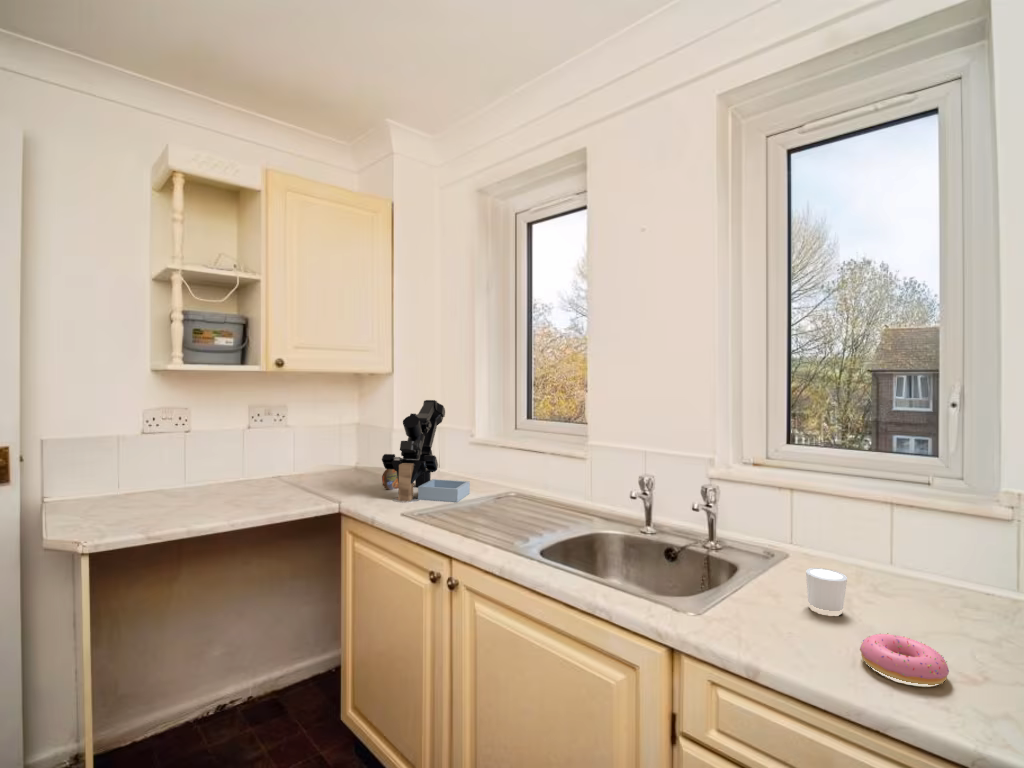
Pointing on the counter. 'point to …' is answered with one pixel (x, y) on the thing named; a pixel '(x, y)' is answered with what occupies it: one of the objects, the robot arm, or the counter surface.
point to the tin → (390, 479)
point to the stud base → (405, 501)
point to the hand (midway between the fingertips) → (404, 482)
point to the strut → (405, 482)
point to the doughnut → (904, 659)
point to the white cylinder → (826, 588)
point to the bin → (444, 490)
